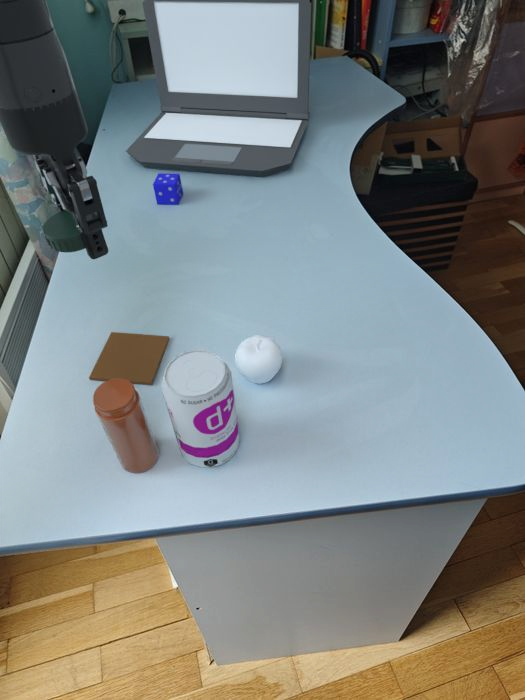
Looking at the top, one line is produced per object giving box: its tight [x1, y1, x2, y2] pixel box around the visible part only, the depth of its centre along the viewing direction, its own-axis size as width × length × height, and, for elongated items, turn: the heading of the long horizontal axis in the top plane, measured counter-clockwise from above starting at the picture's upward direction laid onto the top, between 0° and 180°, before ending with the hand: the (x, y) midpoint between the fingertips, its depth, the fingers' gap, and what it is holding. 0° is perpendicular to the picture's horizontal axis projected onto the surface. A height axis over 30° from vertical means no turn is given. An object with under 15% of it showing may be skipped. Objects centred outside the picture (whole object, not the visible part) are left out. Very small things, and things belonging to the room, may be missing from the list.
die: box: [152, 172, 184, 206], centre depth 110 cm, size 5×5×5 cm
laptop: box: [125, 0, 313, 178], centre depth 117 cm, size 43×31×34 cm
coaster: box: [88, 331, 170, 386], centre depth 77 cm, size 10×10×1 cm
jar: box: [92, 378, 160, 474], centre depth 60 cm, size 5×5×14 cm
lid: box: [42, 210, 92, 253], centre depth 55 cm, size 6×6×2 cm
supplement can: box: [160, 349, 241, 469], centre depth 61 cm, size 8×8×15 cm
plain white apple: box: [234, 334, 283, 385], centre depth 71 cm, size 7×7×8 cm
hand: (87, 242), depth 57 cm, fingers closed on lid, 6 cm apart
